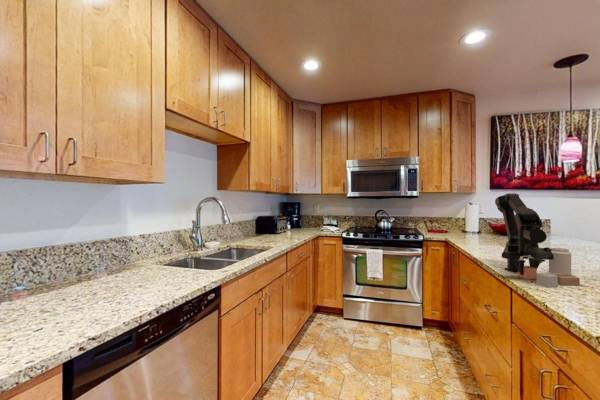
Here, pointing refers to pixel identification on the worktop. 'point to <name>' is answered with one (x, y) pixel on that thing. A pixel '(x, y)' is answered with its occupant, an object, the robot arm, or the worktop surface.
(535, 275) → the terracotta cube
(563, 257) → the can
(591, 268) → the worktop surface
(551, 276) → the slate cube
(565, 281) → the walnut base
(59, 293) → the worktop surface
